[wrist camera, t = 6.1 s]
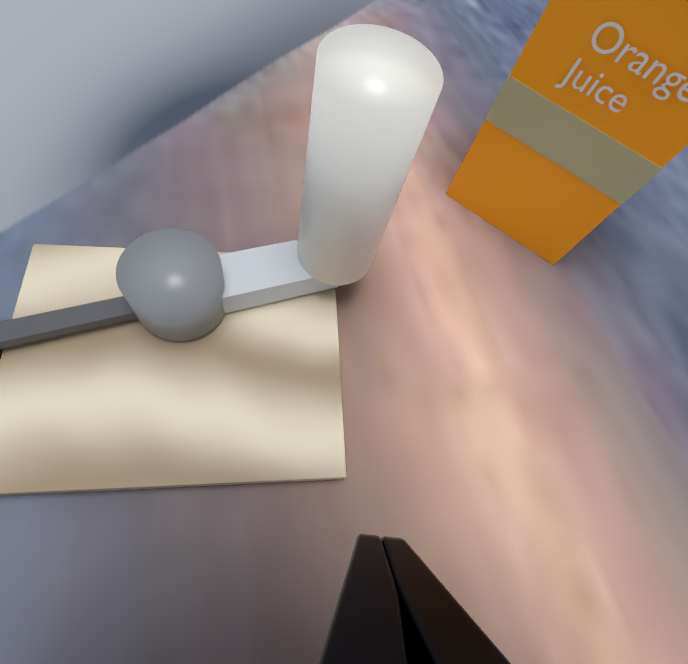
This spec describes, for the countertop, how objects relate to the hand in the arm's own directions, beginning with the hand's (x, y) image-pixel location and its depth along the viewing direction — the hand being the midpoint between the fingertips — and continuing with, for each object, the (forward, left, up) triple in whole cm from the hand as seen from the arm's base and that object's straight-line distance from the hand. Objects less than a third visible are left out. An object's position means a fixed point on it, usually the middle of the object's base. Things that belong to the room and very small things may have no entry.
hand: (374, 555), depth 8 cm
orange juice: (+21, -16, -13) cm, 29 cm away
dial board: (+8, +8, -13) cm, 17 cm away
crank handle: (+11, +6, -11) cm, 17 cm away
